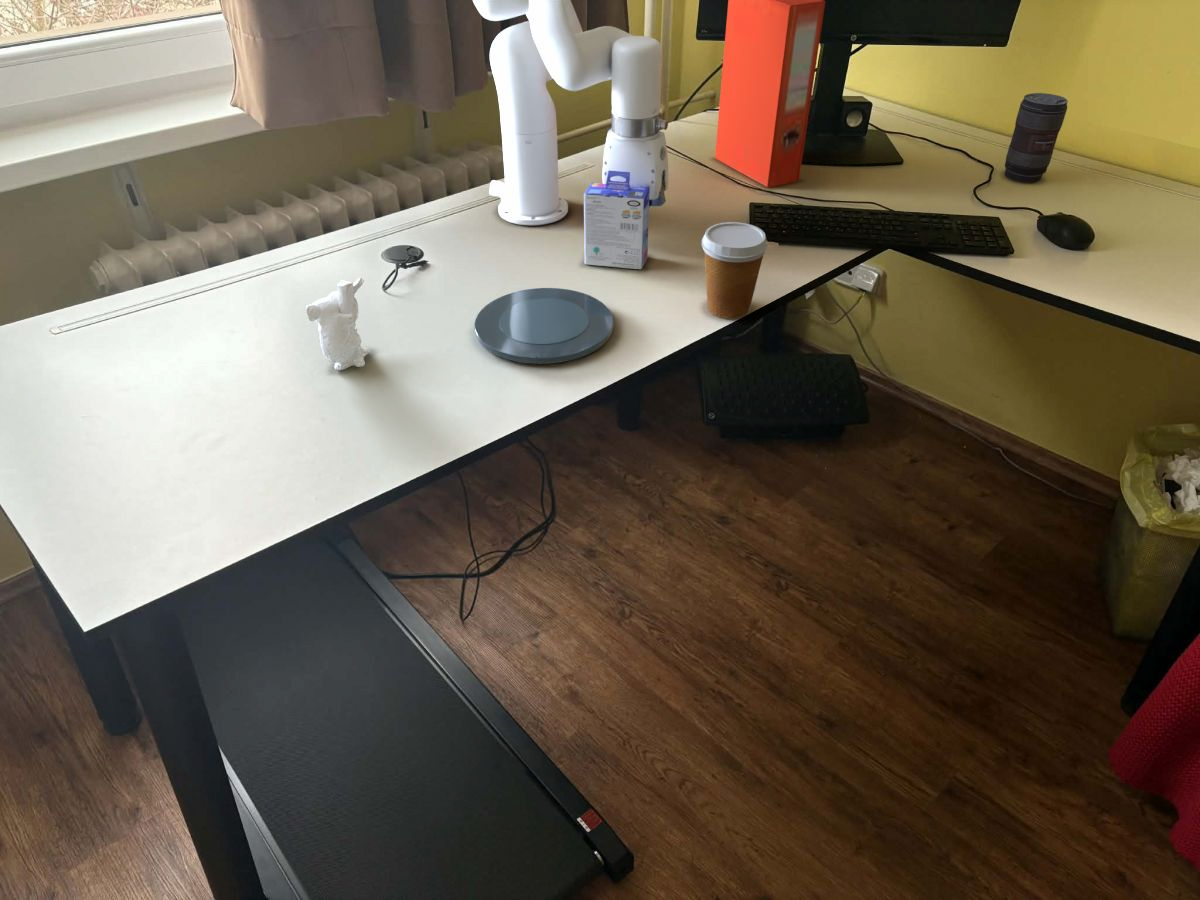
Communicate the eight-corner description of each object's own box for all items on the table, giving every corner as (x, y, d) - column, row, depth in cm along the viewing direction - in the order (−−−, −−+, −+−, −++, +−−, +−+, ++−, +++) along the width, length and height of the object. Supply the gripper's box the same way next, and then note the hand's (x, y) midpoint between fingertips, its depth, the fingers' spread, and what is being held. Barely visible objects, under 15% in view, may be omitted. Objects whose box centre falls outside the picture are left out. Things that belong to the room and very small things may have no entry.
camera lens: (1048, 174, 176) (1073, 95, 167) (1039, 188, 171) (1065, 107, 162) (1006, 166, 180) (1028, 88, 171) (996, 179, 174) (1018, 100, 165)
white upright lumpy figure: (370, 343, 128) (355, 266, 121) (387, 365, 124) (373, 287, 116) (311, 360, 125) (293, 282, 117) (327, 383, 120) (308, 304, 113)
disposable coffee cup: (719, 330, 130) (726, 254, 123) (684, 302, 137) (689, 228, 130) (773, 315, 134) (782, 240, 126) (736, 288, 140) (744, 215, 133)
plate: (448, 346, 127) (447, 337, 126) (519, 285, 141) (519, 276, 140) (573, 381, 120) (573, 371, 119) (635, 313, 134) (635, 304, 133)
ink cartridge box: (648, 255, 149) (651, 170, 140) (643, 271, 145) (646, 184, 136) (590, 250, 151) (590, 166, 142) (583, 265, 147) (582, 179, 138)
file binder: (746, 152, 186) (763, -19, 166) (800, 180, 175) (825, 0, 155) (714, 159, 183) (728, -14, 163) (767, 188, 171) (788, 5, 152)
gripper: (689, 123, 140) (683, 233, 151) (602, 110, 145) (603, 217, 156) (670, 138, 135) (666, 251, 146) (581, 124, 140) (583, 234, 151)
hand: (633, 233), depth 151 cm, fingers closed
